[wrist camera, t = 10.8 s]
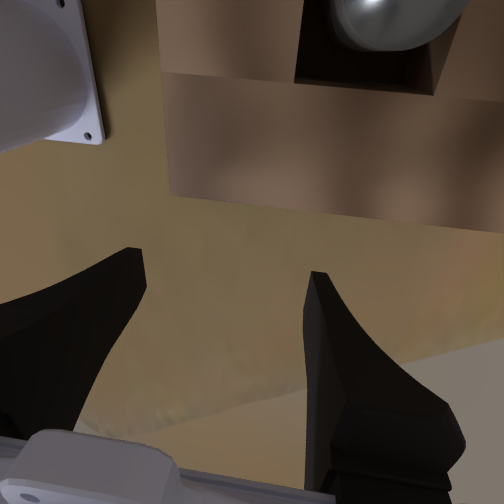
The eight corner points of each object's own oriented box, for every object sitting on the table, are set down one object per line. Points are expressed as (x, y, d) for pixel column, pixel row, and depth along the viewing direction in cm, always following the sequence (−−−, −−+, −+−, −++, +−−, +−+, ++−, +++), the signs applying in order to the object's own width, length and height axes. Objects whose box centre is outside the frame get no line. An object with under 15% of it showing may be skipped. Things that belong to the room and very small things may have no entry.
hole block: (194, 167, 22) (170, 195, 18) (180, -302, 12) (117, -488, 8) (465, 196, 21) (508, 234, 16) (696, -296, 11) (945, -511, 7)
